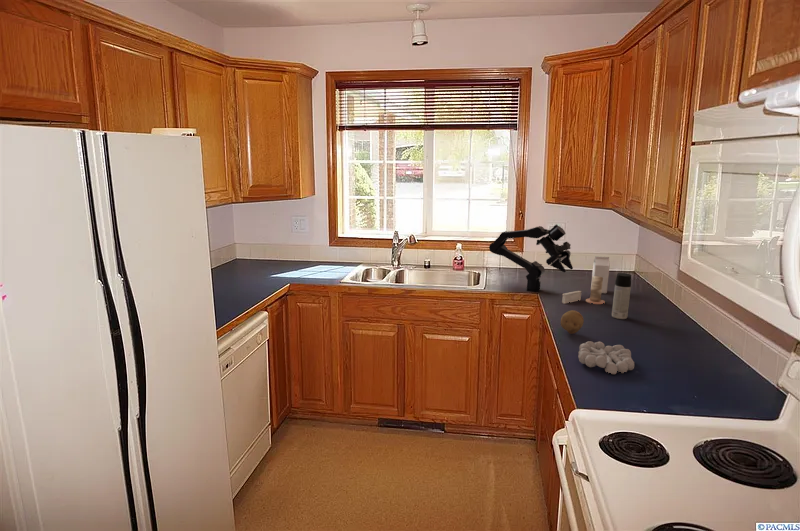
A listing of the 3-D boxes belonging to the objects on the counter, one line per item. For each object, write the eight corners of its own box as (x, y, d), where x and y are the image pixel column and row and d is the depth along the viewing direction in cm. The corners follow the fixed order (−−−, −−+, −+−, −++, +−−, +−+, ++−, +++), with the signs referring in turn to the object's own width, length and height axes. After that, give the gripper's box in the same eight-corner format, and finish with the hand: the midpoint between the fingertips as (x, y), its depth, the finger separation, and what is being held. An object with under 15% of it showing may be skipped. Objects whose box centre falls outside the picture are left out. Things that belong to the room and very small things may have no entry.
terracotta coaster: (586, 303, 264) (586, 302, 264) (585, 298, 272) (585, 297, 272) (605, 305, 261) (605, 303, 261) (604, 300, 270) (604, 299, 270)
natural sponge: (576, 339, 213) (578, 315, 211) (555, 334, 219) (557, 310, 217) (585, 334, 220) (588, 310, 218) (565, 328, 226) (567, 306, 224)
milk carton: (606, 293, 283) (610, 258, 278) (592, 292, 284) (596, 257, 280) (604, 290, 289) (608, 255, 285) (590, 289, 291) (594, 255, 287)
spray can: (627, 316, 244) (632, 273, 240) (626, 320, 238) (631, 276, 234) (612, 314, 247) (616, 272, 243) (611, 318, 241) (615, 275, 237)
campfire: (561, 353, 198) (563, 338, 197) (611, 350, 203) (613, 335, 202) (595, 379, 178) (597, 363, 176) (650, 375, 182) (652, 359, 181)
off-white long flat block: (564, 303, 263) (565, 294, 262) (561, 302, 264) (562, 293, 263) (580, 300, 269) (581, 291, 268) (577, 299, 271) (578, 290, 270)
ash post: (592, 302, 264) (594, 278, 262) (588, 299, 269) (590, 276, 266) (602, 302, 264) (604, 278, 262) (598, 299, 269) (600, 276, 267)
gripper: (553, 239, 266) (573, 264, 262) (568, 234, 280) (587, 258, 276) (538, 252, 273) (556, 277, 268) (553, 247, 287) (571, 270, 283)
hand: (568, 270), depth 274 cm, fingers open, 9 cm apart
